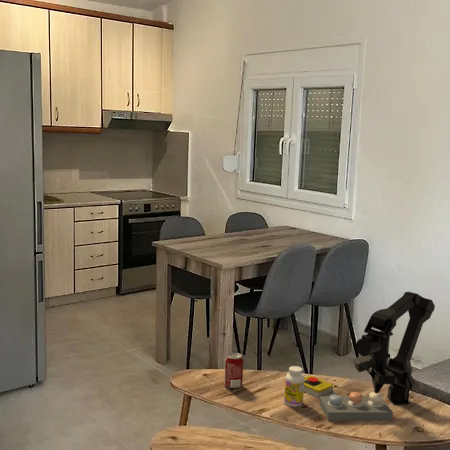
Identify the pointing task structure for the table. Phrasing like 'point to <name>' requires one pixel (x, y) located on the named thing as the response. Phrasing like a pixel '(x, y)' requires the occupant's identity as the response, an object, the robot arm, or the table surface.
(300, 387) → the supplement bottle
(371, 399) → the cream button
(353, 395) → the terracotta button
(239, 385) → the soda can
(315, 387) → the emergency button
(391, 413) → the console
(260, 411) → the table surface
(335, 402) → the slate button
